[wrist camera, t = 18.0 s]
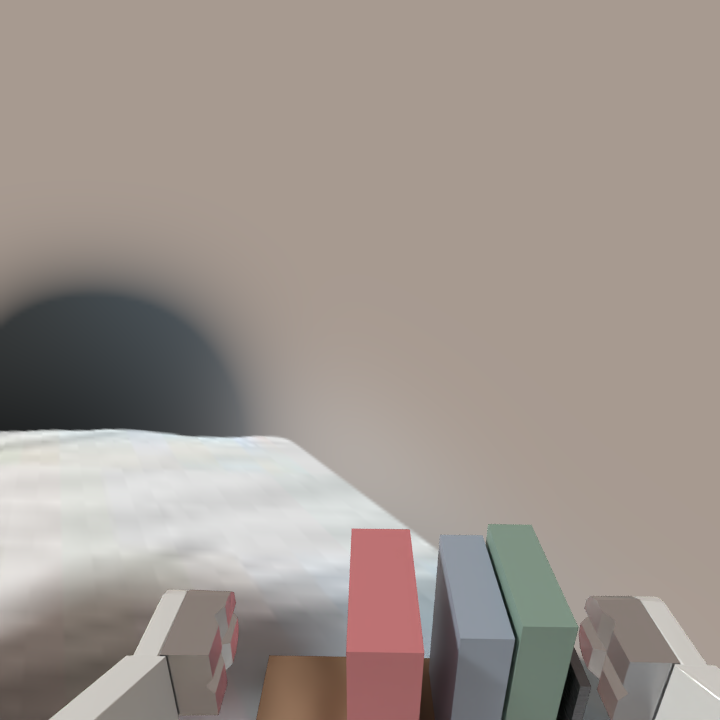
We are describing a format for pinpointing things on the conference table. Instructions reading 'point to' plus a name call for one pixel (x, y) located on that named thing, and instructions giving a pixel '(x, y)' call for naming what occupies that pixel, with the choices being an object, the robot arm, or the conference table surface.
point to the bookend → (574, 691)
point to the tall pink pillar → (383, 628)
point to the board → (317, 689)
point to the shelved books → (498, 629)
